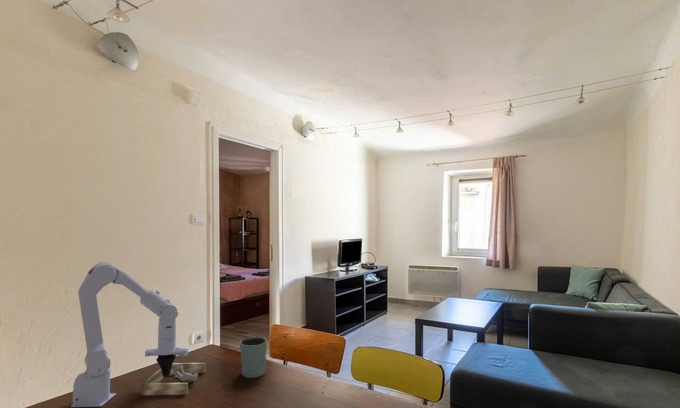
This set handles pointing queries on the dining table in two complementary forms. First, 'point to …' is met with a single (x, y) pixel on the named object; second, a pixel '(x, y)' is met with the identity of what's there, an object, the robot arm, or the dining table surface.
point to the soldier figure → (184, 375)
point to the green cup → (253, 356)
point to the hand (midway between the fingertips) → (166, 375)
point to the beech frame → (157, 388)
